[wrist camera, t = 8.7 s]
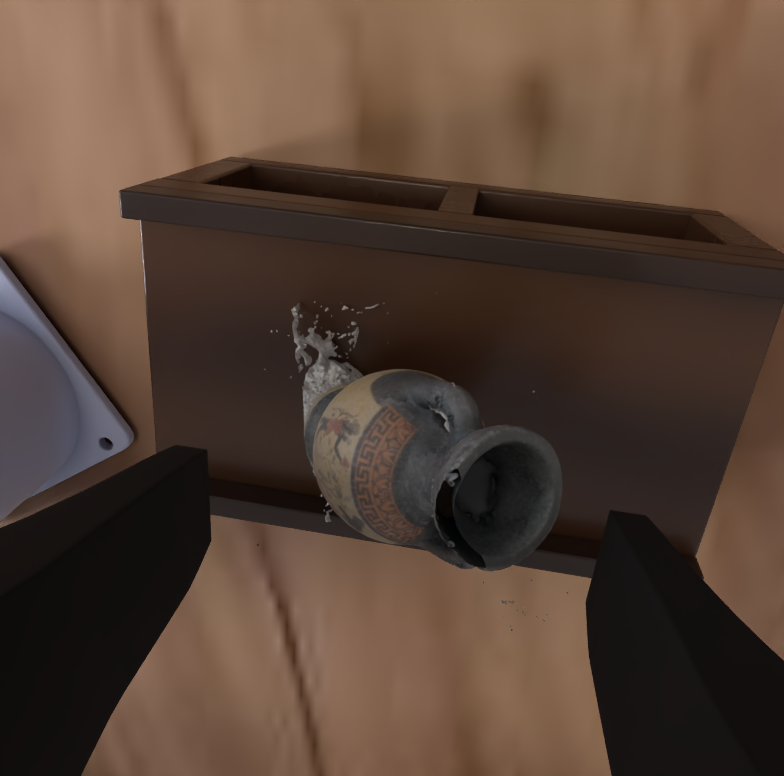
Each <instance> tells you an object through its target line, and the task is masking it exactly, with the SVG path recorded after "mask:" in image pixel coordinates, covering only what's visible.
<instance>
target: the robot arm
mask: <svg viewBox="0 0 784 776" xmlns="http://www.w3.org/2000/svg"><path fill="white" fill-rule="evenodd" d="M105 438H108V439H109V440H111V442H112V444H113V445H111V444H109V443H108V442H106V440H105ZM133 440H134V433H133V431H132V430H131V428H130V427H129V425H128V424H127V423H126V421H125V420H124V419H123V417H122V416H121V415H120V413H119V412H118V411H117V409H116V408H115V407H114V405H113V404H112V403H111V402H110V400H109V399H108V398H107V396H106V395H105V394H104V392H103V391H102V390H101V388H100V387H99V386H98V384H97V383H96V382H95V380H94V379H93V378H92V376H91V375H90V374H89V373H88V371H87V370H86V369H85V367H84V366H83V365H82V363H81V362H80V361H79V359H78V358H77V357H76V355H75V354H74V353H73V351H72V350H71V349H70V347H69V346H68V345H67V344H66V342H65V341H64V340H63V338H62V337H61V336H60V334H59V333H58V332H57V330H56V329H55V328H54V326H53V325H52V324H51V322H50V321H49V320H48V318H47V317H46V316H45V314H44V313H43V312H42V311H41V309H40V308H39V307H38V305H37V304H36V303H35V301H34V300H33V299H32V297H31V296H30V295H29V293H28V292H27V291H26V289H25V288H24V287H23V285H22V284H21V283H20V282H19V280H18V279H17V278H16V276H15V275H14V274H13V272H12V271H11V270H10V268H9V267H8V266H7V264H6V263H5V262H4V260H3V259H2V258H1V257H0V522H1V521H2V520H3V519H4V518H5V517H6V516H8V515H9V514H10V513H11V512H12V511H13V510H14V509H15V508H17V507H18V506H19V505H20V504H21V503H22V502H23V501H24V500H26V499H28V498H30V497H32V496H34V495H36V494H38V493H40V492H42V491H44V490H46V489H48V488H50V487H52V486H54V485H56V484H58V483H59V482H61V481H63V480H65V479H67V478H69V477H71V476H73V475H75V474H77V473H79V472H81V471H83V470H85V469H87V468H89V467H91V466H93V465H95V464H97V463H99V462H101V461H103V460H105V459H107V458H109V457H111V456H113V455H115V454H116V453H118V452H120V451H122V450H124V449H126V448H127V447H128V446H129V445H130V444H131V443H132V442H133ZM210 542H211V522H210V497H209V473H208V450H207V449H201V448H194V447H187V446H181V445H174V446H172V447H169V448H167V449H165V450H163V451H160V452H158V453H156V454H154V455H152V456H150V457H148V458H146V459H144V460H143V461H141V462H139V463H137V464H135V465H133V466H131V467H129V468H127V469H125V470H123V471H121V472H119V473H117V474H115V475H114V476H112V477H110V478H108V479H106V480H104V481H102V482H100V483H98V484H96V485H94V486H92V487H90V488H88V489H86V490H84V491H82V492H80V493H78V494H76V495H74V496H71V497H69V498H67V499H65V500H63V501H61V502H59V503H56V504H54V505H52V506H50V507H48V508H46V509H43V510H41V511H39V512H37V513H35V514H33V515H30V516H28V517H26V518H24V519H21V520H19V521H16V522H14V523H12V524H9V525H7V526H4V527H2V528H0V776H81V774H82V772H83V770H84V768H85V766H86V764H87V762H88V760H89V758H90V756H91V754H92V752H93V750H94V748H95V746H96V744H97V742H98V740H99V738H100V736H101V734H102V732H103V730H104V728H105V726H106V724H107V722H108V720H109V718H110V716H111V714H112V713H113V711H114V709H115V707H116V706H117V704H118V702H119V700H120V699H121V697H122V695H123V694H124V692H125V690H126V689H127V687H128V685H129V684H130V682H131V681H132V679H133V678H134V676H135V674H136V673H137V671H138V670H139V668H140V666H141V665H142V663H143V662H144V660H145V659H146V657H147V655H148V654H149V652H150V651H151V649H152V648H153V646H154V644H155V643H156V641H157V640H158V638H159V637H160V635H161V633H162V632H163V630H164V629H165V627H166V626H167V624H168V622H169V621H170V619H171V618H172V616H173V614H174V613H175V611H176V610H177V608H178V606H179V605H180V603H181V602H182V600H183V598H184V597H185V595H186V593H187V592H188V590H189V588H190V587H191V584H192V582H193V580H194V578H195V576H196V574H197V572H198V570H199V567H200V565H201V563H202V561H203V558H204V556H205V554H206V551H207V549H208V547H209V545H210ZM586 617H587V636H588V650H589V659H590V665H591V670H592V676H593V681H594V686H595V692H596V697H597V702H598V708H599V713H600V718H601V723H602V728H603V733H604V738H605V744H606V749H607V754H608V759H609V764H610V769H611V775H612V776H784V661H783V660H782V659H781V658H780V657H779V656H778V655H777V654H776V653H775V652H774V651H772V650H771V649H770V648H769V647H768V646H767V645H766V644H765V643H764V642H763V641H762V640H761V639H760V638H759V637H758V636H757V635H756V634H755V633H754V632H753V631H752V630H751V629H750V628H749V627H748V626H747V625H746V624H744V623H743V622H742V621H741V620H740V619H739V618H738V617H737V616H736V615H735V614H734V613H733V612H732V610H731V609H730V608H729V607H728V606H727V605H726V604H725V603H724V602H723V601H722V600H721V599H720V598H719V597H718V596H717V595H716V594H715V593H714V591H713V590H712V589H711V588H710V587H709V586H708V585H707V584H706V583H705V582H704V581H703V579H702V578H701V577H700V576H699V575H698V574H697V573H696V572H695V570H694V569H693V568H692V567H691V566H690V565H689V564H688V562H687V561H686V560H685V559H684V558H683V557H682V556H681V554H680V553H679V552H678V551H677V550H676V549H675V547H674V546H673V545H672V544H671V543H670V542H669V540H668V539H667V538H666V537H665V536H664V535H663V533H662V532H661V531H660V530H659V529H658V528H657V527H656V525H655V524H654V523H653V522H652V521H651V520H650V519H649V518H648V517H647V516H646V515H640V514H634V513H627V512H620V511H614V510H610V511H609V515H608V519H607V523H606V527H605V530H604V534H603V538H602V542H601V546H600V549H599V553H598V557H597V561H596V565H595V569H594V572H593V576H592V580H591V584H590V588H589V591H588V595H587V599H586Z"/></svg>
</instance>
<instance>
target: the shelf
mask: <svg viewBox="0 0 784 776" xmlns="http://www.w3.org/2000/svg"><path fill="white" fill-rule="evenodd" d="M119 199H120V211H121V217H122V218H126V219H135V220H140V229H141V243H142V257H143V271H144V285H145V299H146V313H147V327H148V341H149V355H150V369H151V382H152V396H153V410H154V424H155V438H156V452H157V453H158V452H160V451H163V450H165V449H167V448H169V447H172V446H174V445H181V446H187V447H194V448H201V449H207V450H208V473H209V497H210V515H216V516H222V517H228V518H234V519H240V520H246V521H252V522H258V523H264V524H270V525H276V526H282V527H288V528H294V529H300V530H306V531H312V532H318V533H324V534H330V535H336V536H342V537H348V538H354V539H360V540H366V541H372V542H378V543H384V542H381V541H378V540H375V539H372V538H369V537H367V536H365V535H363V534H361V533H360V532H358V531H356V530H355V529H353V528H352V527H351V526H349V525H348V524H347V523H346V522H345V521H344V520H342V519H341V518H340V517H339V516H338V515H337V514H336V512H335V511H334V510H333V509H332V508H331V506H330V505H327V501H326V499H325V497H324V496H323V494H322V492H321V490H320V487H319V485H318V482H317V479H316V476H314V473H313V467H312V465H311V463H310V460H309V458H308V456H307V453H306V447H305V441H304V406H303V389H302V386H303V387H304V381H305V376H306V373H307V372H308V370H309V368H310V367H312V366H313V365H314V364H315V363H316V362H317V361H316V360H318V358H319V351H318V350H317V349H316V348H314V347H312V346H311V345H309V344H307V343H304V344H306V348H304V349H303V351H305V352H306V353H307V354H308V355H309V356H311V358H312V362H311V364H310V365H308V366H306V365H305V361H304V357H303V356H301V358H300V359H299V360H300V363H299V364H298V362H297V361H296V358H295V354H296V348H298V346H297V344H296V343H295V342H294V335H293V328H292V325H293V321H294V316H293V314H292V311H291V309H293V307H295V306H296V305H297V304H298V303H300V305H299V306H300V309H299V311H298V313H297V314H298V316H299V317H300V314H302V315H303V317H302V318H301V317H300V318H299V319H298V321H299V324H298V327H297V328H296V330H297V333H299V332H300V333H299V334H300V336H302V334H303V336H304V337H307V336H308V335H309V334H310V333H309V332H308V329H309V328H310V327H312V328H314V326H316V328H315V329H314V333H316V334H318V335H320V336H321V338H322V339H323V340H325V339H326V338H327V337H328V334H326V331H330V332H331V333H334V334H335V335H334V336H333V338H332V341H333V343H334V344H335V346H334V347H336V346H338V347H337V348H336V349H335V350H334V352H336V353H337V356H335V357H334V356H330V357H329V358H328V359H330V360H335V361H337V362H339V363H341V364H343V363H344V362H347V363H349V364H350V365H352V366H353V367H354V368H355V369H357V370H358V371H359V372H360V373H361V374H363V377H364V376H366V375H369V374H372V373H376V372H380V371H385V370H392V369H409V370H416V371H421V372H426V373H429V374H432V375H435V376H437V377H440V378H442V379H444V380H446V381H448V382H449V383H452V382H453V383H454V384H455V385H458V386H460V387H462V388H464V389H465V390H467V391H468V392H469V393H470V394H471V396H472V397H473V399H474V400H475V402H476V404H477V407H478V409H479V412H480V415H481V417H482V419H483V421H484V424H485V427H486V428H487V427H490V426H496V425H512V426H520V427H525V428H527V429H530V430H532V431H534V432H536V433H538V434H540V435H541V436H542V437H544V438H545V439H546V440H547V441H548V442H549V443H550V444H551V446H552V447H553V449H554V451H555V453H556V455H557V457H558V459H559V463H560V466H561V472H562V482H563V491H562V499H561V505H560V509H559V512H558V516H557V519H556V521H555V523H554V525H553V527H552V529H551V530H550V532H549V533H548V535H547V536H546V538H545V539H544V540H543V541H542V543H541V544H540V545H539V546H538V547H537V548H536V549H535V550H534V551H533V552H532V553H531V554H529V555H528V556H527V557H525V558H524V559H523V560H521V561H520V562H519V563H517V564H515V565H516V566H522V567H528V568H534V569H540V570H546V571H552V572H558V573H564V574H570V575H576V576H582V577H588V578H592V576H593V572H594V569H595V565H596V561H597V557H598V553H599V549H600V546H601V542H602V538H603V534H604V530H605V527H606V523H607V519H608V515H609V511H610V510H614V511H620V512H627V513H634V514H640V515H646V516H647V517H648V518H649V519H650V520H651V521H652V522H653V523H654V524H655V525H656V527H657V528H658V529H659V530H660V531H661V532H662V533H663V535H664V536H665V537H666V538H667V539H668V540H669V542H670V543H671V544H672V545H673V546H674V547H675V549H676V550H677V551H678V552H679V553H680V554H681V556H682V557H683V558H684V559H685V560H686V561H687V562H688V564H689V565H690V566H691V567H692V568H693V569H694V570H695V572H696V573H697V574H698V575H699V576H700V577H701V578H702V579H704V577H703V574H702V571H701V569H700V566H699V564H698V561H697V558H695V556H696V554H697V551H698V548H699V545H700V542H701V539H702V536H703V533H704V531H705V528H706V525H707V522H708V519H709V516H710V513H711V510H712V508H713V505H714V502H715V499H716V496H717V493H718V490H719V487H720V485H721V482H722V479H723V476H724V473H725V470H726V467H727V464H728V462H729V459H730V456H731V453H732V450H733V447H734V444H735V441H736V439H737V436H738V433H739V430H740V427H741V424H742V421H743V418H744V416H745V413H746V410H747V407H748V404H749V401H750V398H751V395H752V393H753V390H754V387H755V384H756V381H757V378H758V375H759V372H760V370H761V367H762V364H763V361H764V358H765V355H766V352H767V349H768V347H769V344H770V341H771V338H772V335H773V332H774V329H775V326H776V324H777V321H778V318H779V315H780V312H781V309H782V306H783V303H784V254H783V253H782V252H780V251H777V250H776V249H774V248H773V247H771V246H770V245H768V244H767V243H765V242H764V241H762V240H761V239H759V238H758V237H756V236H755V235H753V234H752V233H750V232H749V231H747V230H746V229H744V228H743V227H741V226H740V225H738V224H737V223H735V222H733V221H732V220H730V219H729V218H727V217H726V216H725V215H723V214H721V213H720V212H718V211H709V210H700V209H691V208H682V207H673V206H664V205H656V204H647V203H638V202H629V201H620V200H611V199H602V198H593V197H584V196H575V195H566V194H558V193H549V192H540V191H531V190H522V189H513V188H504V187H495V186H486V185H477V184H469V183H460V182H451V181H442V180H433V179H424V178H415V177H406V176H397V175H388V174H379V173H371V172H362V171H353V170H344V169H335V168H326V167H317V166H308V165H299V164H290V163H282V162H273V161H264V160H255V159H246V158H237V157H228V158H225V159H222V160H219V161H215V162H212V163H209V164H206V165H202V166H199V167H196V168H193V169H189V170H186V171H183V172H180V173H176V174H173V175H170V176H167V177H163V178H160V179H155V180H152V181H148V182H145V183H142V184H139V185H135V186H132V187H129V188H125V189H122V190H120V191H119ZM436 292H437V293H436ZM314 302H315V303H314ZM383 303H384V304H383ZM376 304H379V305H378V306H376V307H375V308H371V309H365V307H372V306H374V305H376ZM320 306H322V307H320ZM343 306H346V307H348V309H345V310H342V308H343ZM327 307H328V309H329V310H327V311H325V310H326V308H327ZM351 309H354V310H351ZM357 312H360V313H358V314H357ZM361 312H362V313H361ZM387 313H388V314H387ZM316 315H319V316H318V318H316ZM316 320H317V321H318V322H316ZM314 322H316V325H315V324H314ZM351 322H356V323H357V324H356V325H351ZM348 326H349V328H348ZM357 327H359V328H358V329H359V334H358V338H357V342H356V344H355V342H354V341H353V342H352V343H351V345H350V343H349V342H348V341H349V340H350V339H352V338H354V335H352V332H354V331H355V330H356V328H357ZM321 328H322V329H321ZM271 330H272V333H271ZM276 330H277V331H278V332H276ZM337 333H339V335H337ZM345 333H346V336H344V337H343V338H340V339H339V338H338V337H340V336H342V335H343V334H345ZM349 333H350V336H348V334H349ZM288 335H290V336H288ZM331 337H332V335H331ZM354 344H355V348H354V347H353V346H354ZM304 346H305V345H304ZM350 348H351V351H350ZM345 353H348V355H346V354H345ZM338 355H340V356H341V357H340V358H339V357H338ZM347 357H348V358H347ZM300 364H303V365H302V366H303V367H304V368H303V369H302V370H301V371H300V370H299V369H298V366H300ZM264 369H266V370H264ZM349 370H350V372H351V371H352V370H351V369H349ZM299 371H300V372H299ZM290 377H292V378H290ZM360 378H361V377H360ZM533 391H535V392H533ZM321 494H322V497H321ZM325 505H327V506H325ZM324 509H325V512H324ZM330 509H332V511H331V512H329V515H330V517H329V518H330V519H331V522H326V521H325V516H326V515H327V513H326V512H327V511H328V510H329V511H330ZM384 544H389V543H384ZM390 545H396V544H390ZM396 546H402V547H408V548H414V549H420V550H425V549H423V548H421V547H419V546H415V545H396ZM426 551H427V550H426Z"/></svg>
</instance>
